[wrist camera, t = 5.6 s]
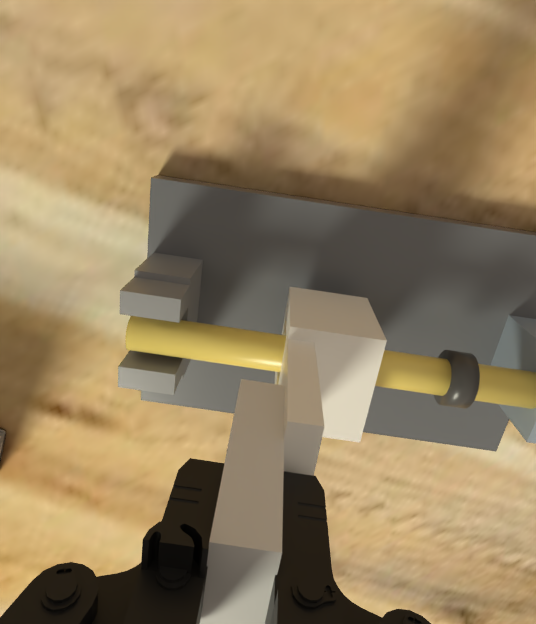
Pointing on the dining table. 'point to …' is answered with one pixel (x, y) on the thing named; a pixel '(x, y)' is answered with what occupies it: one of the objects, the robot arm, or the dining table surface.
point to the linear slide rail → (342, 280)
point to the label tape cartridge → (2, 441)
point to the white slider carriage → (326, 371)
